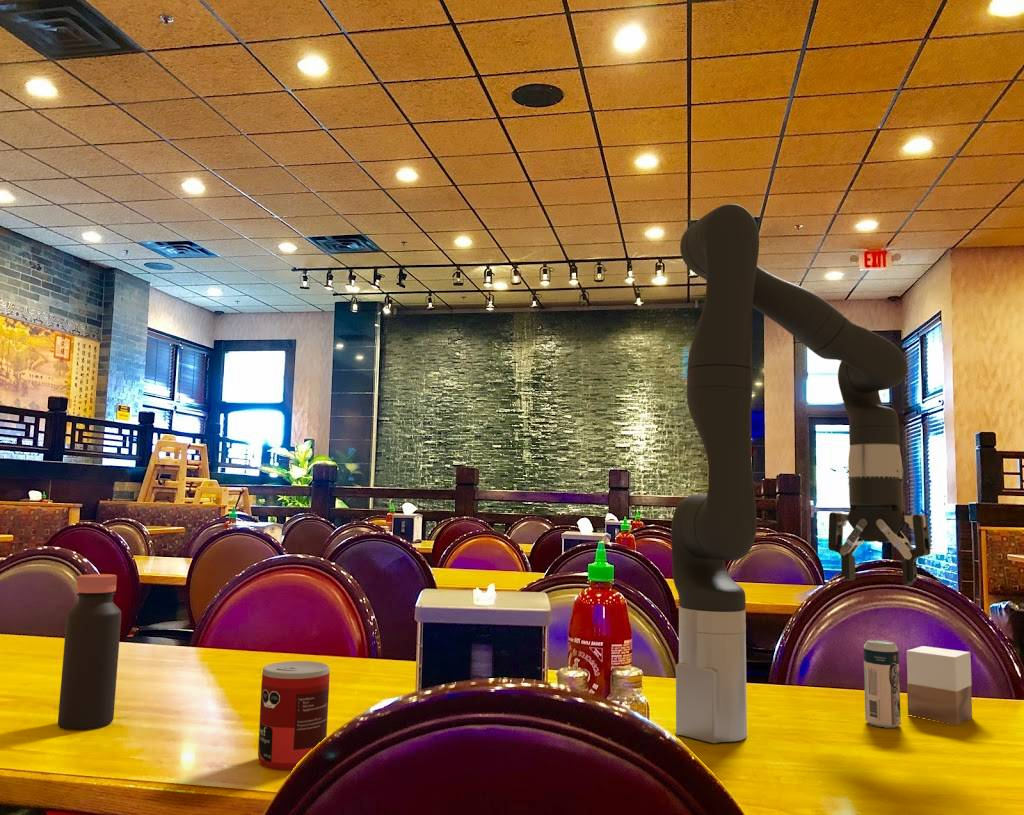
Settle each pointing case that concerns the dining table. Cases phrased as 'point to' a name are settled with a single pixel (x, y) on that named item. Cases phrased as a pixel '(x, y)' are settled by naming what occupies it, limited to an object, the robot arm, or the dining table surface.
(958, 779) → the dining table surface
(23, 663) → the dining table surface
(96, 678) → the bottle
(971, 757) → the dining table surface
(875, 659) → the beer can
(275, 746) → the canned food
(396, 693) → the dining table surface
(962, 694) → the tower base
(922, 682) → the tower top
